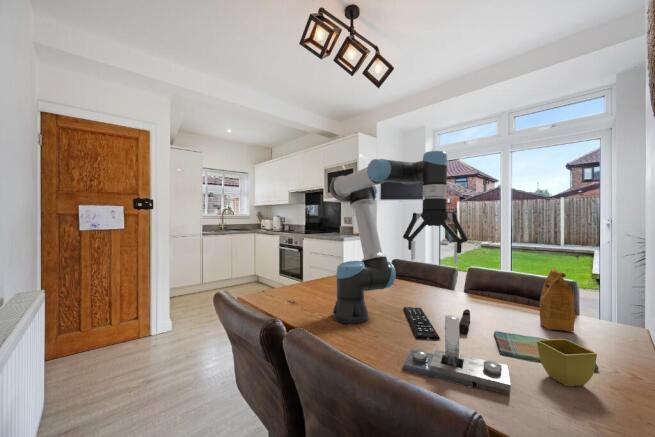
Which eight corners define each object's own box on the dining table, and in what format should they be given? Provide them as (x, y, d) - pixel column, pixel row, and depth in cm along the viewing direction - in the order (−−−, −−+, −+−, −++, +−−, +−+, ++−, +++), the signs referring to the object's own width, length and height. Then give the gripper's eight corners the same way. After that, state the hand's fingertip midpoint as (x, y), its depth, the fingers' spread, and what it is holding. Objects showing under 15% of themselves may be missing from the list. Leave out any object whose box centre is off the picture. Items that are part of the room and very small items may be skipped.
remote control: (416, 340, 97) (416, 335, 97) (403, 310, 129) (403, 306, 129) (439, 342, 96) (439, 336, 96) (420, 311, 128) (420, 306, 128)
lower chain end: (403, 369, 78) (403, 357, 78) (411, 354, 86) (411, 342, 86) (472, 387, 69) (472, 373, 69) (473, 368, 78) (473, 356, 78)
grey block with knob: (429, 376, 74) (429, 359, 74) (435, 359, 83) (435, 344, 83) (510, 397, 65) (510, 378, 65) (507, 376, 74) (507, 359, 74)
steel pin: (444, 373, 75) (444, 318, 75) (446, 367, 78) (445, 314, 78) (458, 377, 74) (458, 320, 74) (459, 371, 77) (459, 316, 77)
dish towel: (600, 375, 76) (600, 365, 76) (500, 357, 85) (500, 349, 85) (575, 348, 91) (575, 340, 91) (493, 335, 101) (493, 328, 101)
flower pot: (535, 372, 76) (535, 339, 76) (565, 370, 77) (564, 338, 77) (565, 392, 67) (565, 355, 67) (598, 390, 68) (598, 353, 68)
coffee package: (568, 323, 111) (567, 268, 111) (578, 335, 100) (577, 274, 100) (537, 319, 115) (536, 266, 115) (543, 330, 104) (543, 271, 104)
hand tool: (468, 336, 99) (468, 323, 99) (456, 333, 102) (456, 321, 102) (475, 320, 115) (475, 309, 115) (464, 318, 117) (464, 307, 117)
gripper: (394, 198, 96) (393, 259, 97) (476, 196, 84) (474, 266, 84) (400, 199, 103) (400, 256, 103) (477, 197, 90) (476, 263, 90)
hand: (433, 261), depth 94 cm, fingers open, 13 cm apart
